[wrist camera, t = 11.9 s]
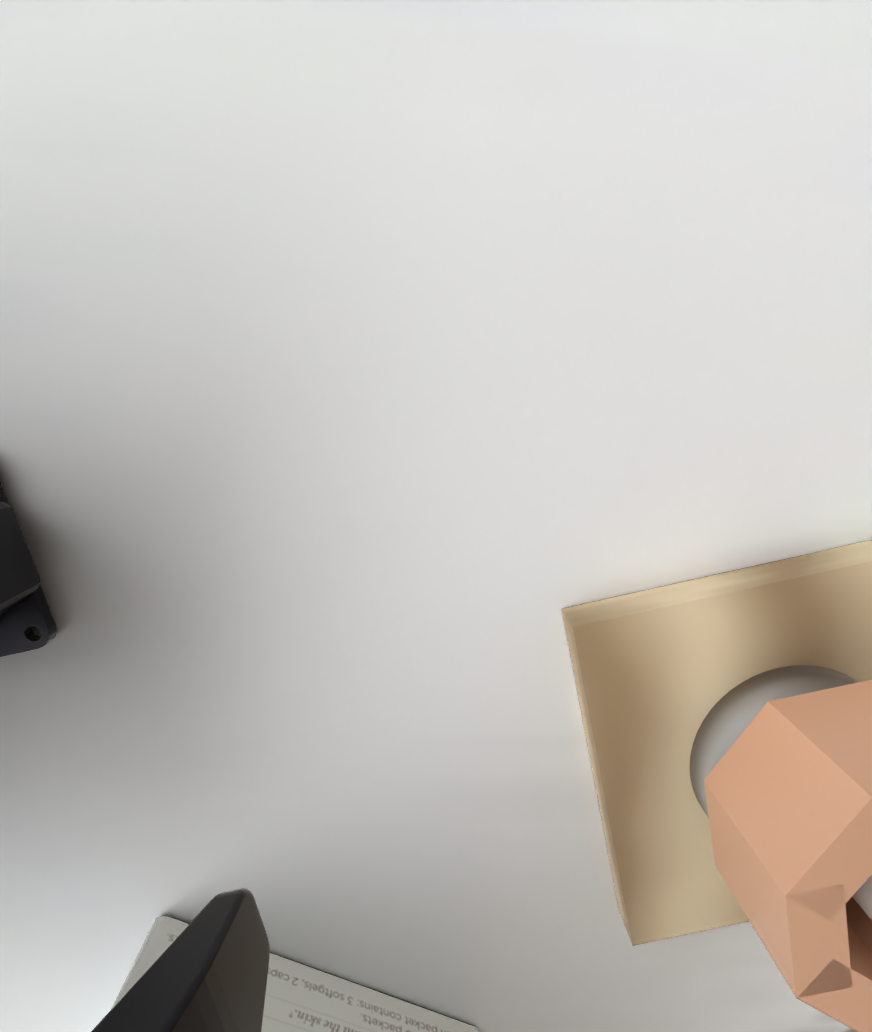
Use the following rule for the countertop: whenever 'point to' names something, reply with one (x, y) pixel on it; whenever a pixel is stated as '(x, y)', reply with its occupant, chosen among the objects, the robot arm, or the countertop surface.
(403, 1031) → the supplement box
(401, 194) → the countertop surface
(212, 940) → the robot arm
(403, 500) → the countertop surface
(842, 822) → the ring
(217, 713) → the countertop surface
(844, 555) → the post stand
